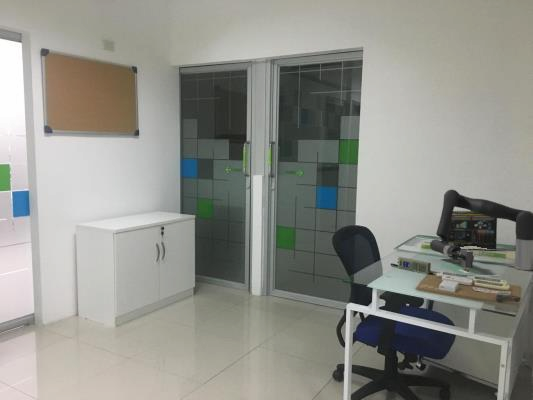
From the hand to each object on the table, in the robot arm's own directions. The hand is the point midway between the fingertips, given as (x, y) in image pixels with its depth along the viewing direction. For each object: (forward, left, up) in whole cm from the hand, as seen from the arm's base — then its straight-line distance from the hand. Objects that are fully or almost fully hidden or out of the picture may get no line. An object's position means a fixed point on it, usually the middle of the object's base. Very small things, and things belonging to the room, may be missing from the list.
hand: (469, 258), depth 249 cm
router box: (-64, -48, -9) cm, 81 cm away
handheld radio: (+20, -23, -9) cm, 32 cm away
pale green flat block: (-3, -8, -9) cm, 13 cm away
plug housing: (-1, -3, -5) cm, 6 cm away
